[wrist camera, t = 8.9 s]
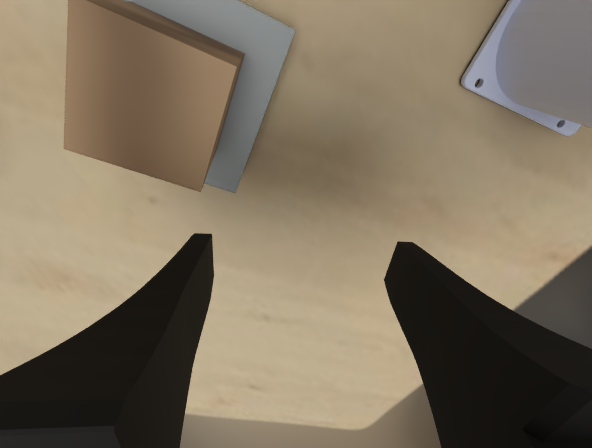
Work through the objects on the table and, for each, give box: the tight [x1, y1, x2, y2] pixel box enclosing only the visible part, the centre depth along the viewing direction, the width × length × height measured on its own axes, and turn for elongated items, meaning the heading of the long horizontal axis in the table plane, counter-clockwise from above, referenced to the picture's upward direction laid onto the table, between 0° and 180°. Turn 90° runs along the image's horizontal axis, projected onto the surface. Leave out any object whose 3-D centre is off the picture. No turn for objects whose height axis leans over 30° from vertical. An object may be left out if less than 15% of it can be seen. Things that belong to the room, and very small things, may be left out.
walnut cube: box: [64, 0, 245, 192], centre depth 13 cm, size 5×5×5 cm
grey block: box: [124, 0, 295, 193], centre depth 16 cm, size 9×9×4 cm
